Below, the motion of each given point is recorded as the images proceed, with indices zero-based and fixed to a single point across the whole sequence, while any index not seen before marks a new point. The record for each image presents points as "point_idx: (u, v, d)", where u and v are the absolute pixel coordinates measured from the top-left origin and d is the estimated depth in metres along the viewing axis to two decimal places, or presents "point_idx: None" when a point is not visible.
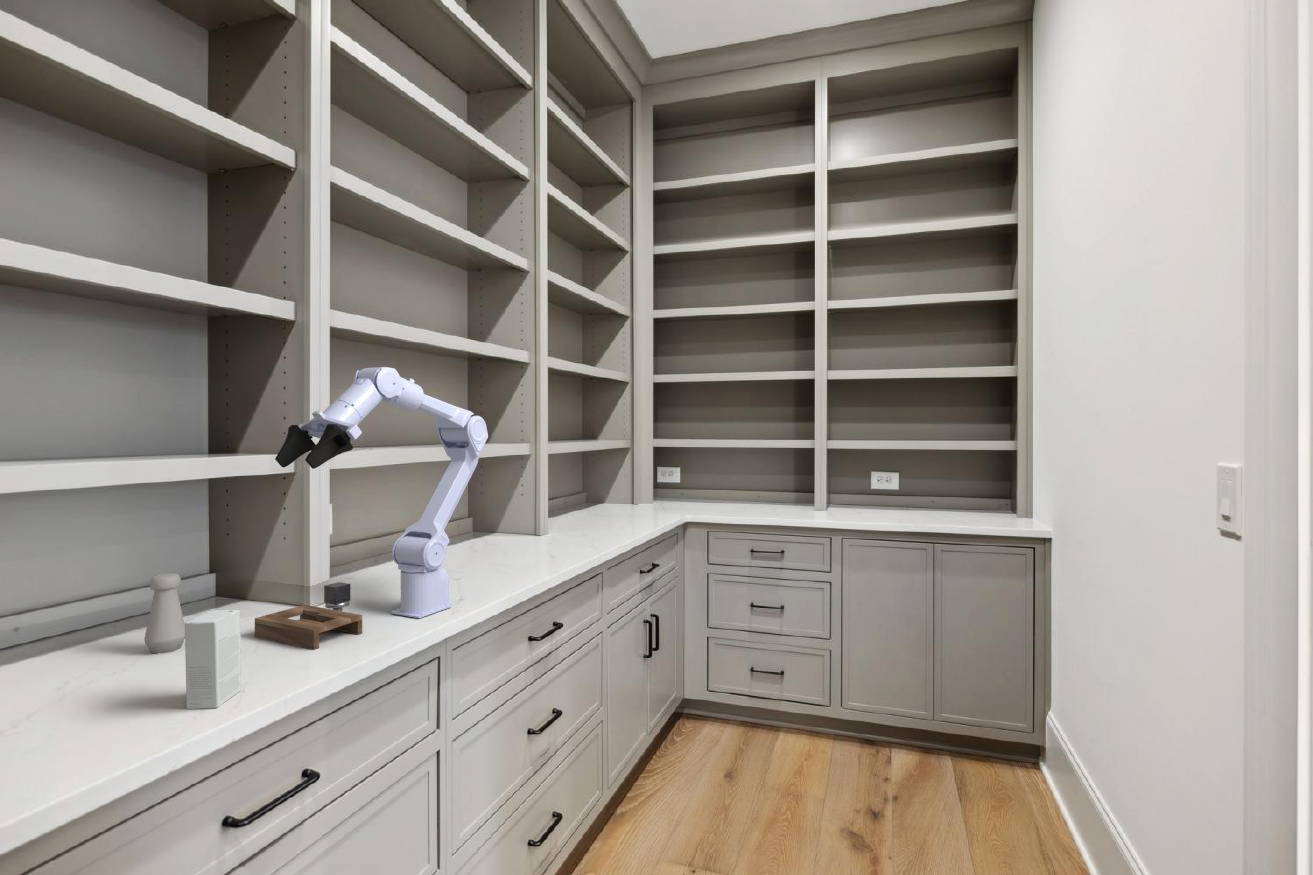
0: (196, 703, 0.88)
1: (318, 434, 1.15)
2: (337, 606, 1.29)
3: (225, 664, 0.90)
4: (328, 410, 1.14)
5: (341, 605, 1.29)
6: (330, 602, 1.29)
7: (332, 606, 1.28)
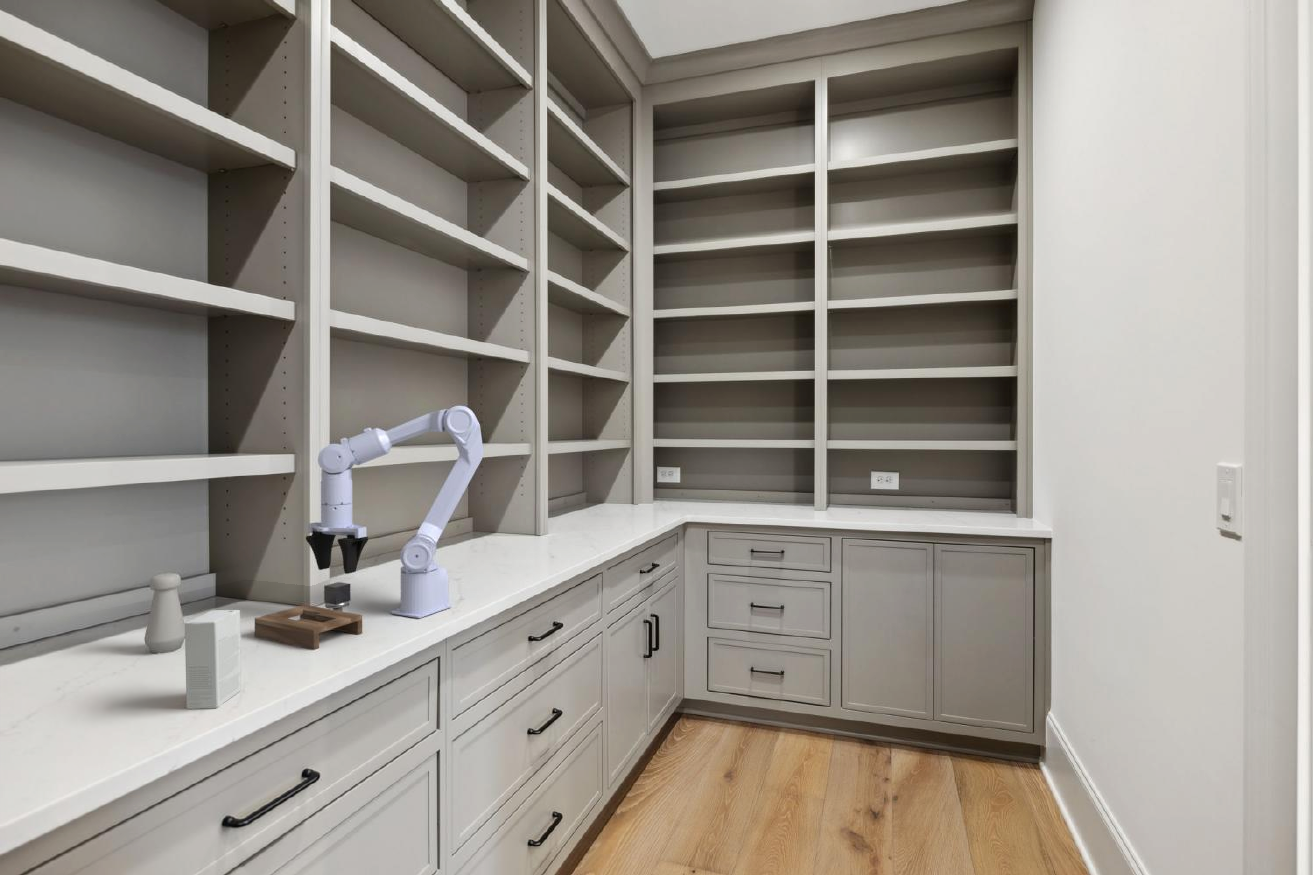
0: (196, 703, 0.88)
1: (332, 534, 1.31)
2: (337, 606, 1.29)
3: (225, 664, 0.90)
4: (325, 520, 1.28)
5: (341, 605, 1.29)
6: (330, 602, 1.29)
7: (332, 606, 1.28)
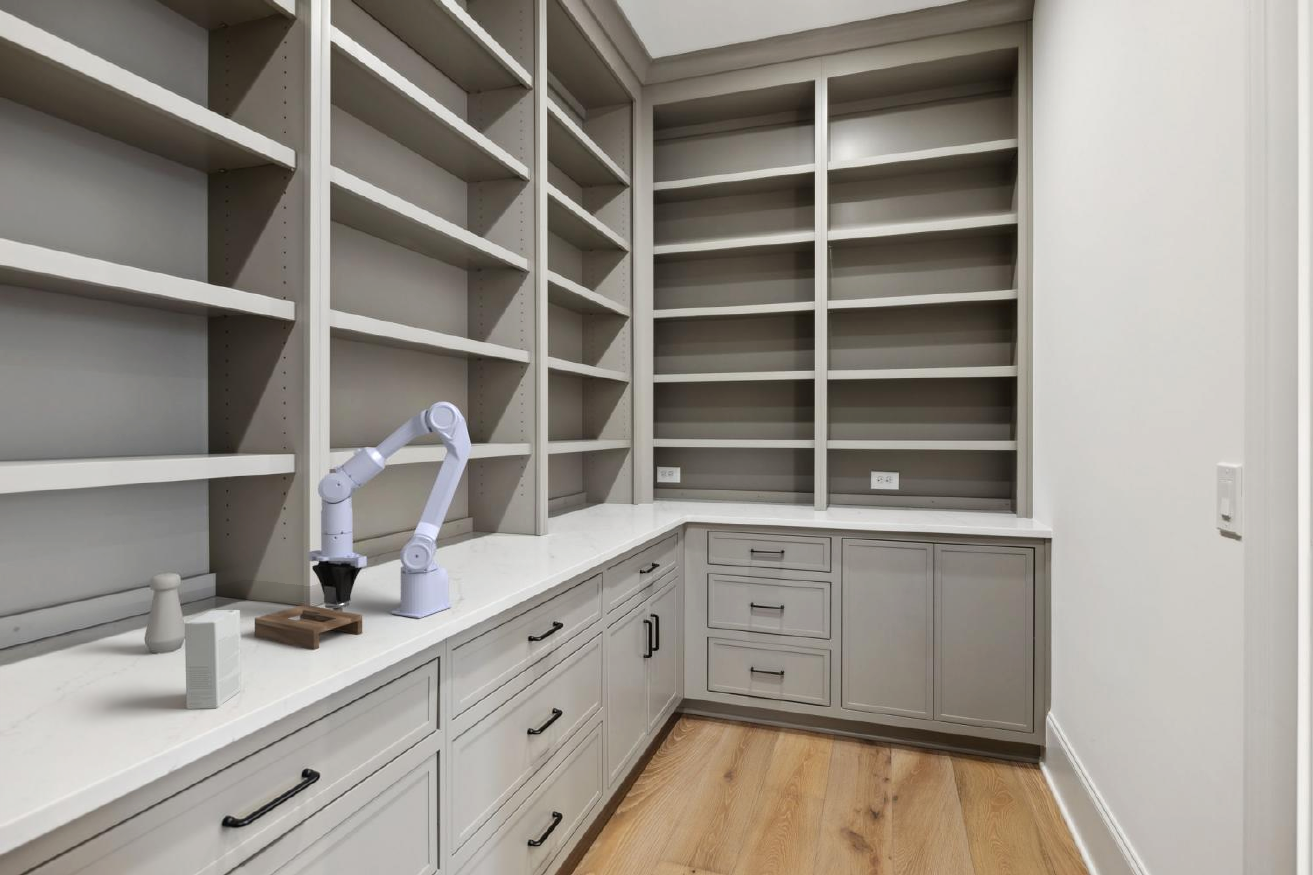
0: (196, 703, 0.88)
1: (332, 562, 1.31)
2: (337, 606, 1.29)
3: (225, 664, 0.90)
4: (326, 549, 1.28)
5: (341, 605, 1.29)
6: (330, 602, 1.29)
7: (332, 606, 1.28)
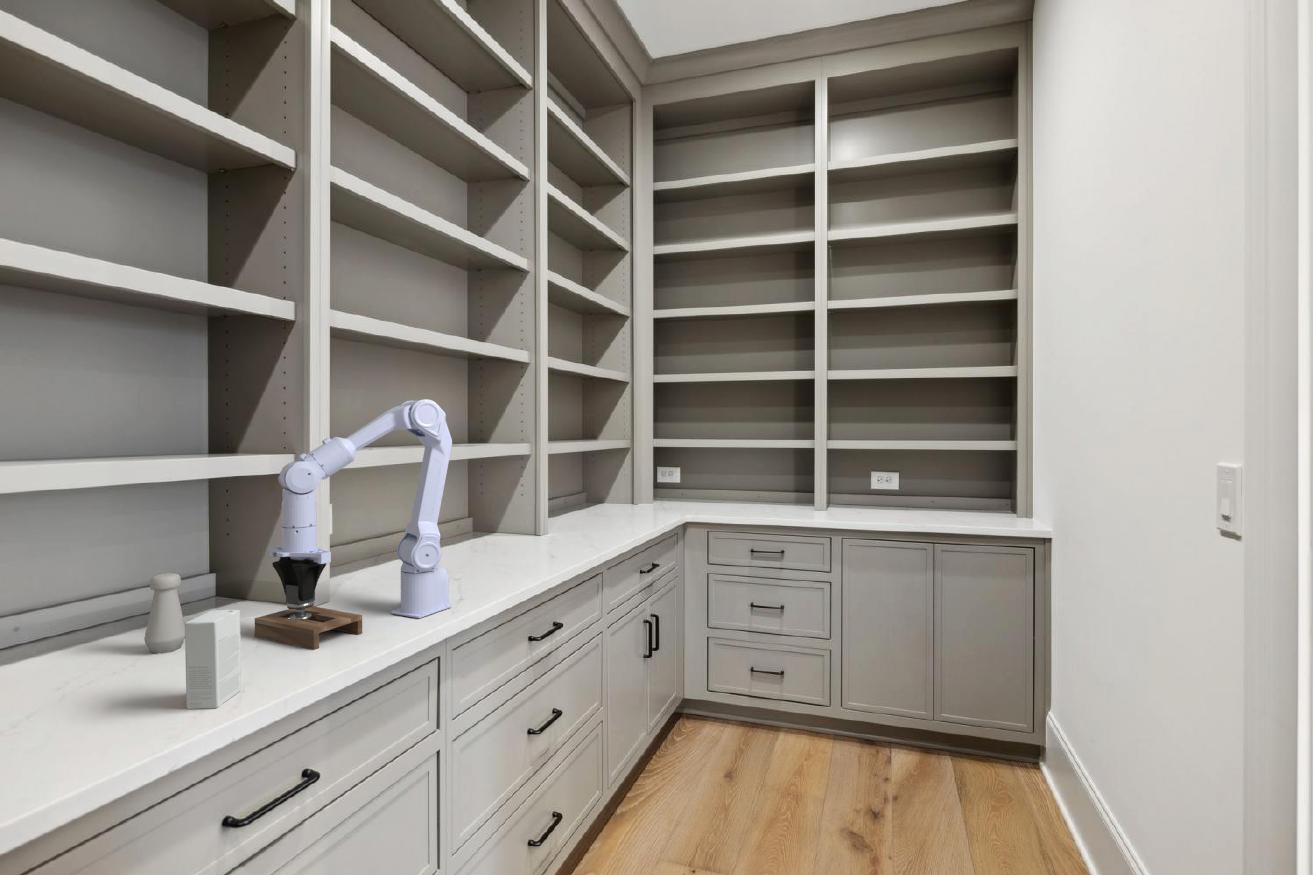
0: (196, 703, 0.88)
1: (294, 558, 1.21)
2: (300, 607, 1.19)
3: (225, 664, 0.90)
4: (286, 544, 1.18)
5: (304, 606, 1.19)
6: (292, 602, 1.19)
7: (294, 607, 1.19)
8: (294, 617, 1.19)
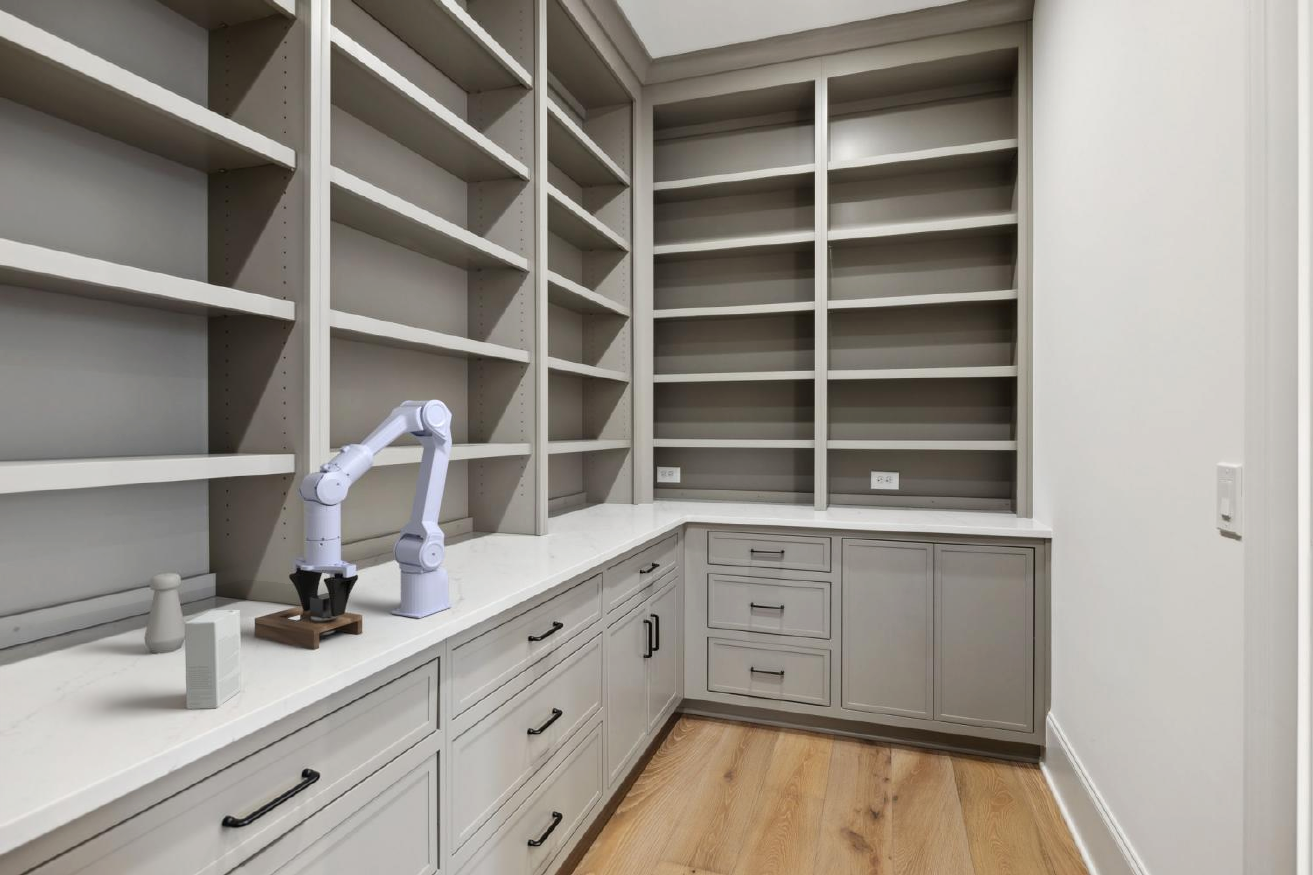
0: (196, 703, 0.88)
1: (318, 571, 1.18)
2: (324, 620, 1.16)
3: (225, 664, 0.90)
4: (310, 557, 1.15)
5: (329, 619, 1.16)
6: (316, 615, 1.16)
7: (319, 620, 1.16)
8: None
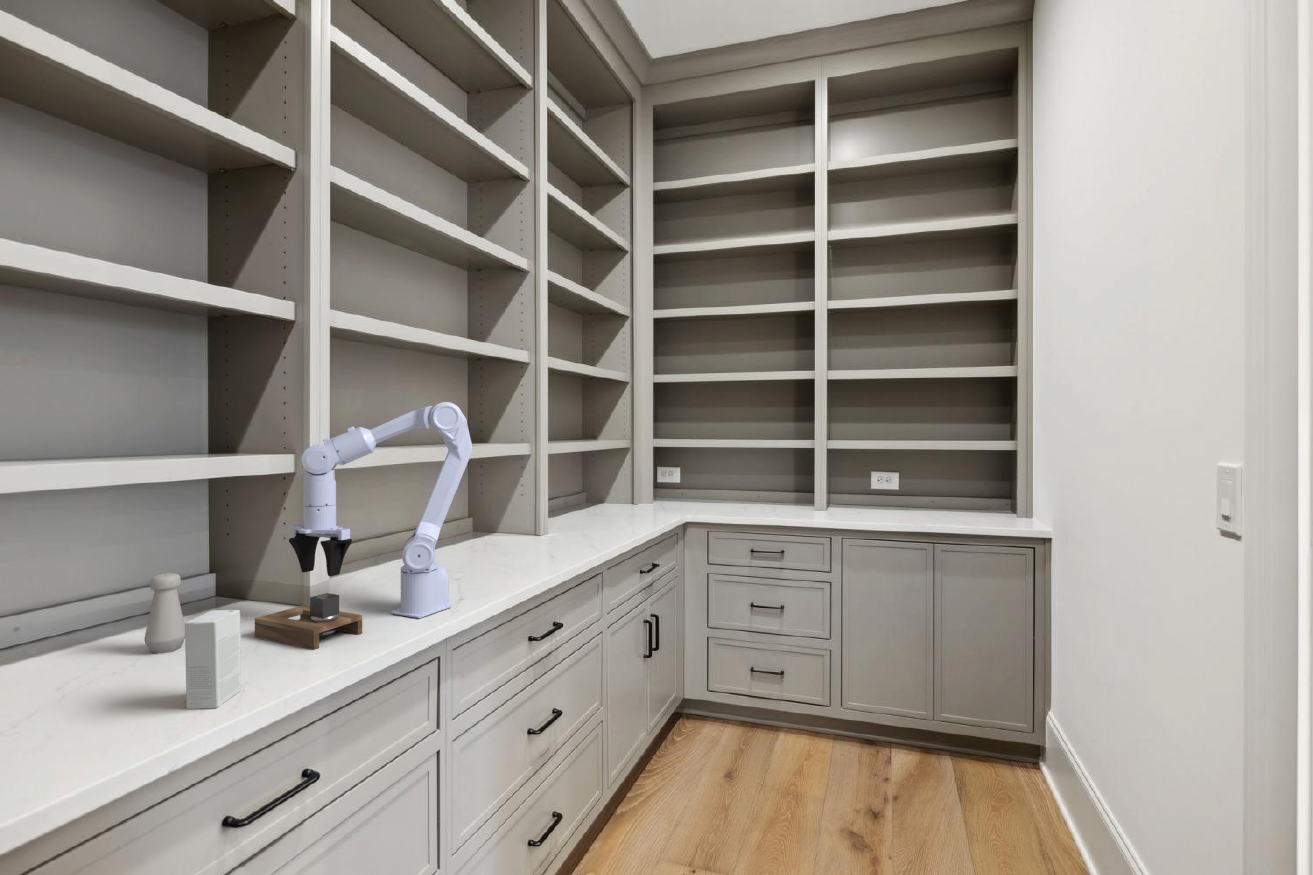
0: (196, 703, 0.88)
1: (315, 536, 1.29)
2: (324, 620, 1.16)
3: (225, 664, 0.90)
4: (308, 522, 1.25)
5: (329, 619, 1.16)
6: (316, 615, 1.16)
7: (319, 620, 1.16)
8: None
